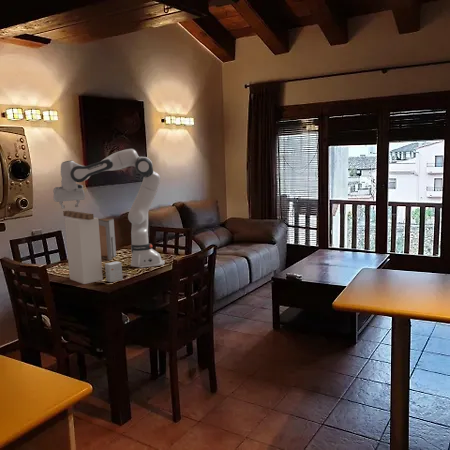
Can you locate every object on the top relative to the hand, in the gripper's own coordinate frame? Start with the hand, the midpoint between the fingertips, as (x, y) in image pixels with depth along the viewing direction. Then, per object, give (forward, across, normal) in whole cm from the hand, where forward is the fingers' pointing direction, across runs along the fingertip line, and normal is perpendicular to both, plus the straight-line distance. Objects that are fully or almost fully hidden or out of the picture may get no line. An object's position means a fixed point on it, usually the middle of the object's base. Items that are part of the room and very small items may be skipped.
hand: (70, 207), depth 302 cm
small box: (+40, +1, -47) cm, 62 cm away
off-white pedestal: (+40, -8, -31) cm, 51 cm away
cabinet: (+40, +35, +12) cm, 55 cm away
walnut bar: (+3, -9, -26) cm, 28 cm away
